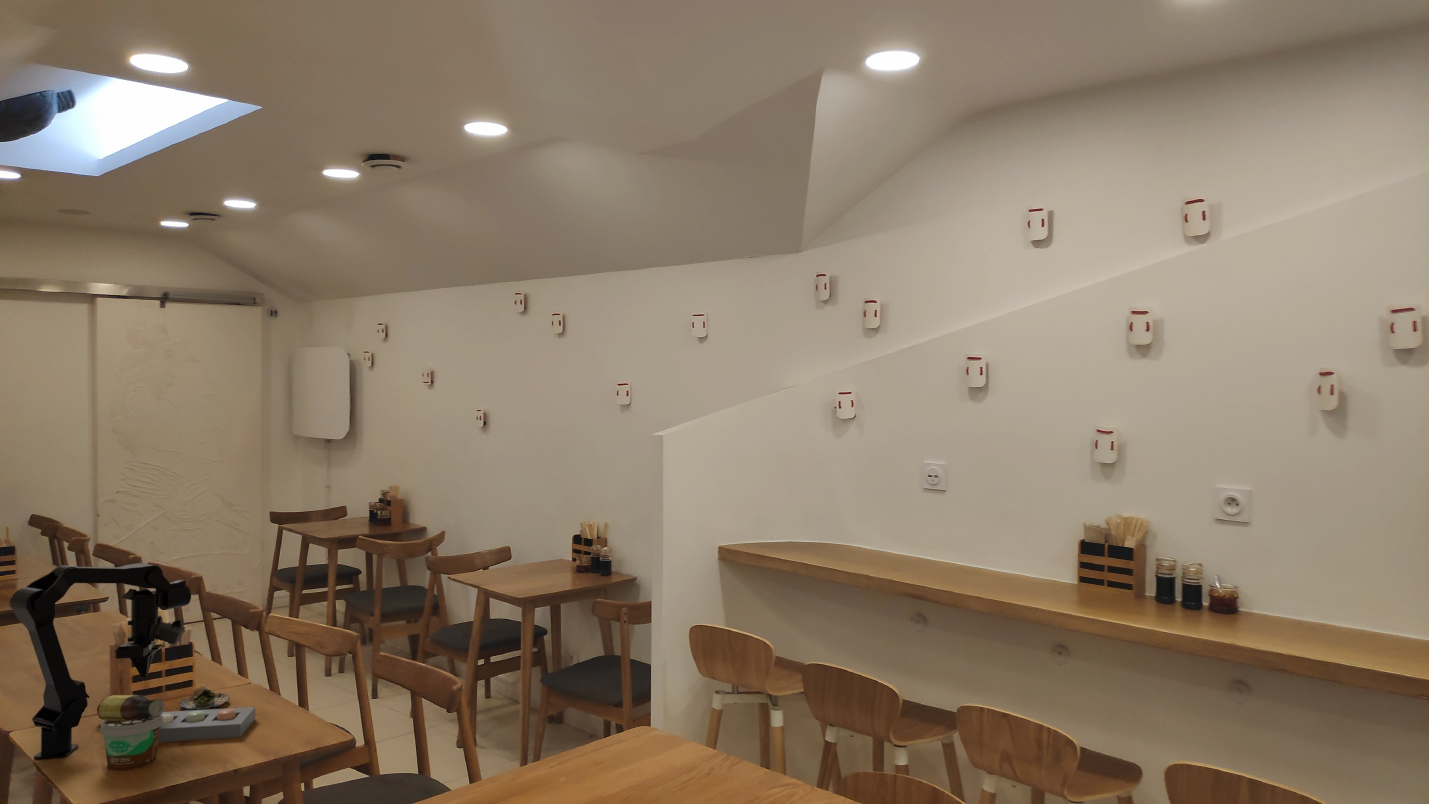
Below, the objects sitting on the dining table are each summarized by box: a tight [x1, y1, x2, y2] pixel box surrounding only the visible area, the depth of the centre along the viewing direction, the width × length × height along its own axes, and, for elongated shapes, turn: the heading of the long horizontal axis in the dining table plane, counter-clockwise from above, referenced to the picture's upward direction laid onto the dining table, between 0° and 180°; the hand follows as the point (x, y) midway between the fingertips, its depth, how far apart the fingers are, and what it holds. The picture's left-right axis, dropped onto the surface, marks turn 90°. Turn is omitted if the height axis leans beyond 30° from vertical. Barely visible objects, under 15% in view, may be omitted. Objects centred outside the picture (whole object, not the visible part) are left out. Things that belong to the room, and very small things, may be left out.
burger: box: [178, 679, 231, 711], centre depth 236 cm, size 12×12×8 cm
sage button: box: [186, 711, 205, 722], centre depth 218 cm, size 4×4×3 cm
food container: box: [99, 715, 164, 772], centre depth 197 cm, size 12×6×10 cm, turn 105°
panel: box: [142, 706, 256, 743], centre depth 218 cm, size 12×24×3 cm, turn 102°
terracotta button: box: [217, 708, 235, 720], centre depth 220 cm, size 4×4×3 cm
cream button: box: [154, 714, 173, 723], centre depth 217 cm, size 4×4×3 cm
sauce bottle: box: [96, 694, 165, 722], centre depth 221 cm, size 6×6×20 cm
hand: (144, 676), depth 222 cm, fingers closed
